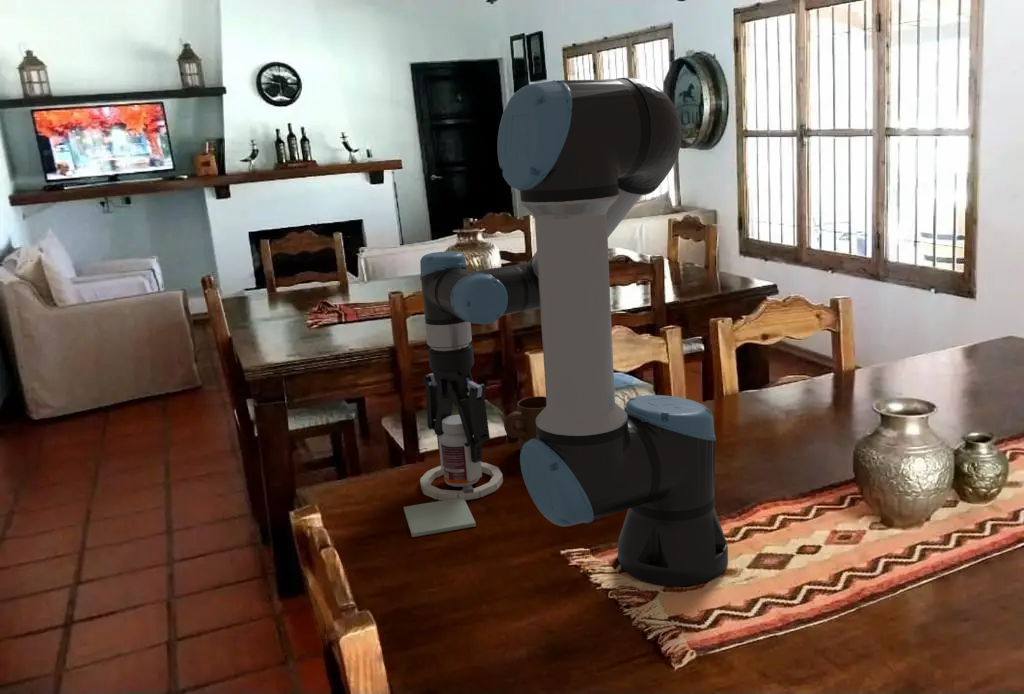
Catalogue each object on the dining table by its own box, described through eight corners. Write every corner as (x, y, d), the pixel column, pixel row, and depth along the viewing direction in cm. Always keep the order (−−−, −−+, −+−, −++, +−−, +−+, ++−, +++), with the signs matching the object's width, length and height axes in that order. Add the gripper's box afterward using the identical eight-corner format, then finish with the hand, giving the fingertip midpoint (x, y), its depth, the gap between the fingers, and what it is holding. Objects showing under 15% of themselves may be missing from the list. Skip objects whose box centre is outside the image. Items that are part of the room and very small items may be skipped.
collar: (510, 492, 146) (509, 483, 146) (428, 506, 143) (427, 496, 143) (491, 462, 159) (491, 453, 159) (416, 474, 156) (415, 465, 156)
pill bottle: (474, 488, 147) (468, 425, 144) (439, 487, 149) (433, 425, 146) (484, 474, 153) (479, 413, 150) (451, 473, 155) (445, 413, 152)
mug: (522, 467, 156) (519, 418, 154) (493, 457, 162) (490, 410, 159) (567, 447, 164) (565, 400, 162) (538, 439, 170) (536, 393, 167)
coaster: (475, 526, 135) (475, 522, 135) (412, 537, 133) (411, 533, 133) (463, 500, 144) (463, 497, 144) (403, 510, 142) (403, 506, 142)
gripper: (505, 347, 140) (515, 480, 146) (431, 333, 154) (443, 454, 160) (471, 358, 136) (482, 494, 141) (397, 342, 149) (410, 467, 155)
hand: (461, 473), depth 151 cm, fingers closed on pill bottle, 6 cm apart
